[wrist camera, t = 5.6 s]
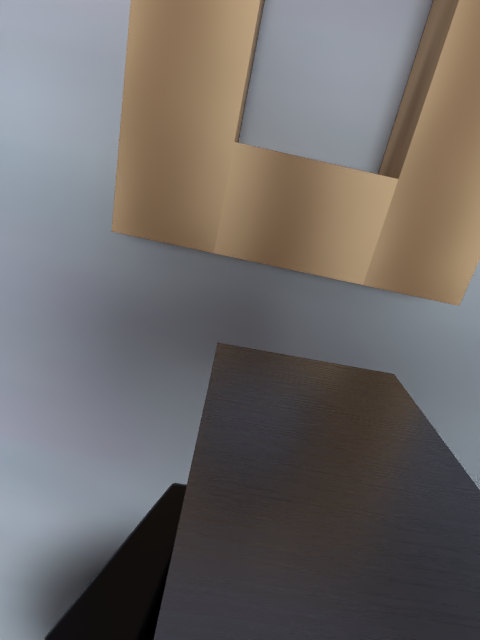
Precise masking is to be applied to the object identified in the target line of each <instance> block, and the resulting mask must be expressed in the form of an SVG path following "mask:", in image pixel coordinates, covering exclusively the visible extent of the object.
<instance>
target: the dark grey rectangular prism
mask: <svg viewBox="0 0 480 640" xmlns="http://www.w3.org/2000/svg"><path fill="white" fill-rule="evenodd" d="M154 640H480V490H479V489H478V487H477V486H476V485H475V483H474V482H473V481H472V479H471V478H470V477H469V475H468V474H467V473H466V471H465V470H464V468H463V467H462V466H461V464H460V463H459V462H458V460H457V459H456V458H455V456H454V455H453V454H452V452H451V451H450V449H449V448H448V447H447V445H446V444H445V443H444V441H443V440H442V439H441V437H440V436H439V435H438V433H437V432H436V430H435V429H434V428H433V426H432V425H431V424H430V422H429V421H428V420H427V418H426V417H425V416H424V414H423V413H422V411H421V410H420V409H419V407H418V406H417V405H416V403H415V402H414V401H413V399H412V398H411V397H410V395H409V394H408V392H407V391H406V390H405V388H404V387H403V386H402V384H401V383H400V382H399V380H398V379H397V378H396V376H395V375H394V374H390V373H384V372H379V371H373V370H368V369H362V368H356V367H351V366H345V365H340V364H334V363H328V362H323V361H317V360H312V359H306V358H300V357H295V356H289V355H284V354H278V353H272V352H267V351H261V350H256V349H250V348H244V347H239V346H233V345H227V344H222V343H218V344H217V349H216V353H215V358H214V363H213V367H212V372H211V377H210V381H209V386H208V390H207V395H206V400H205V404H204V409H203V414H202V418H201V423H200V427H199V432H198V437H197V441H196V446H195V451H194V455H193V460H192V464H191V469H190V474H189V478H188V483H187V488H186V492H185V497H184V501H183V506H182V511H181V515H180V520H179V525H178V529H177V534H176V538H175V543H174V548H173V552H172V557H171V562H170V566H169V571H168V575H167V580H166V585H165V589H164V594H163V599H162V603H161V608H160V612H159V617H158V622H157V626H156V631H155V636H154Z"/></svg>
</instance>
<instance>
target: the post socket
mask: <svg viewBox="0 0 480 640" xmlns="http://www.w3.org/2000/svg"><path fill="white" fill-rule="evenodd" d="M264 2H265V0H131V5H130V17H129V29H128V41H127V53H126V65H125V77H124V90H123V102H122V114H121V126H120V138H119V150H118V162H117V174H116V186H115V198H114V210H113V222H112V232H117V233H121V234H126V235H131V236H135V237H140V238H145V239H149V240H154V241H159V242H163V243H168V244H173V245H178V246H182V247H187V248H192V249H196V250H201V251H206V252H210V253H215V254H220V255H224V256H229V257H234V258H238V259H243V260H248V261H252V262H257V263H262V264H266V265H271V266H276V267H281V268H285V269H290V270H295V271H299V272H304V273H309V274H313V275H318V276H323V277H327V278H332V279H337V280H341V281H346V282H351V283H355V284H360V285H365V286H369V287H374V288H379V289H384V290H388V291H393V292H398V293H402V294H407V295H412V296H416V297H421V298H426V299H430V300H435V301H440V302H444V303H449V304H454V305H458V306H459V305H460V303H461V300H462V298H463V296H464V294H465V291H466V289H467V287H468V285H469V282H470V280H471V278H472V276H473V273H474V271H475V269H476V267H477V264H478V262H479V260H480V0H434V1H433V4H432V7H431V10H430V13H429V16H428V19H427V23H426V26H425V29H424V32H423V35H422V38H421V41H420V45H419V48H418V51H417V54H416V57H415V60H414V63H413V67H412V70H411V73H410V76H409V79H408V82H407V85H406V89H405V92H404V95H403V98H402V101H401V104H400V108H399V111H398V114H397V117H396V120H395V123H394V126H393V130H392V133H391V136H390V139H389V142H388V145H387V148H386V152H385V155H384V158H383V161H382V164H381V167H380V170H379V174H374V173H369V172H365V171H361V170H356V169H352V168H347V167H343V166H339V165H334V164H330V163H325V162H321V161H317V160H312V159H308V158H303V157H299V156H295V155H290V154H286V153H281V152H277V151H273V150H268V149H264V148H259V147H255V146H251V145H246V144H242V143H238V141H239V135H240V130H241V125H242V119H243V114H244V109H245V103H246V98H247V93H248V87H249V82H250V76H251V71H252V66H253V60H254V55H255V50H256V44H257V39H258V34H259V28H260V23H261V18H262V12H263V7H264Z"/></svg>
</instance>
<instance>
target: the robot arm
mask: <svg viewBox="0 0 480 640" xmlns="http://www.w3.org/2000/svg"><path fill="white" fill-rule="evenodd" d="M186 488H187V485H185V484H179V483H174V484H172V485H171V486H170V487H169V488H168V489H167V491H166V492H165V493H164V494H163V495H162V497H161V498H160V499H159V500H158V501H157V503H156V504H155V505H154V506H153V507H152V509H151V510H150V511H149V512H148V514H147V515H146V516H145V517H144V518H143V520H142V521H141V522H140V523H139V524H138V526H137V527H136V528H135V529H134V530H133V532H132V533H131V534H130V535H129V536H128V538H127V539H126V540H125V541H124V542H123V544H122V545H121V546H120V547H119V548H118V550H117V551H116V552H115V553H114V554H113V556H112V557H111V558H110V559H109V561H108V562H107V563H106V564H105V565H104V567H103V568H102V569H101V570H100V571H99V573H98V574H97V575H96V576H95V577H94V579H93V580H92V581H91V582H90V583H89V585H88V586H87V587H86V588H85V589H84V591H83V592H82V593H81V594H80V595H79V597H78V598H77V599H76V600H75V602H74V603H73V604H72V605H71V606H70V608H69V609H68V610H67V611H66V612H65V614H64V615H63V616H62V617H61V618H60V620H59V621H58V622H57V623H56V624H55V626H54V627H53V628H52V629H51V630H50V632H49V633H48V634H47V635H46V637H45V640H154V636H155V631H156V626H157V622H158V617H159V612H160V608H161V603H162V599H163V594H164V589H165V585H166V580H167V575H168V571H169V566H170V562H171V557H172V552H173V548H174V543H175V538H176V534H177V529H178V525H179V520H180V515H181V511H182V506H183V501H184V497H185V492H186Z"/></svg>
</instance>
